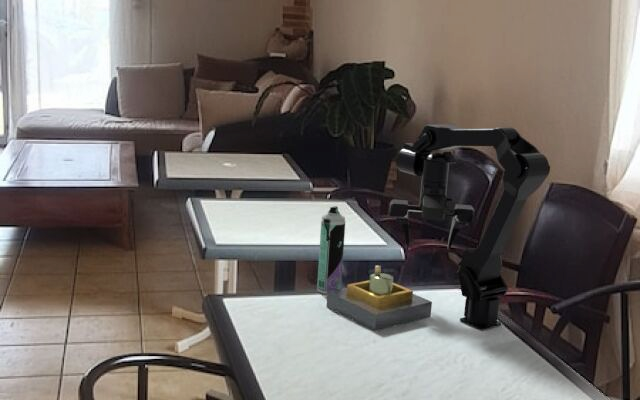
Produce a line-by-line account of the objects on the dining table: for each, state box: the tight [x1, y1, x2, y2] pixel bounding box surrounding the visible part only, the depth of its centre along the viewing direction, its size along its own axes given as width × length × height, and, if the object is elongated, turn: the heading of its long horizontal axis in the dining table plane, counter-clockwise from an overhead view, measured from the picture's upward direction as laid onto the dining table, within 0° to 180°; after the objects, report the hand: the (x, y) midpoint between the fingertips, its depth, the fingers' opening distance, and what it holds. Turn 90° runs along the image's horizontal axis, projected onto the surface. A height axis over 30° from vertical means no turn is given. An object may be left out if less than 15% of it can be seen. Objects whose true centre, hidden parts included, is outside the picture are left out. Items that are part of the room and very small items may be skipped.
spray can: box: [316, 206, 346, 295], centre depth 185 cm, size 6×6×20 cm
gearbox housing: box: [326, 279, 433, 331], centre depth 176 cm, size 18×16×6 cm
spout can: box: [369, 265, 394, 296], centre depth 175 cm, size 5×5×10 cm
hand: (428, 247), depth 184 cm, fingers open, 9 cm apart
